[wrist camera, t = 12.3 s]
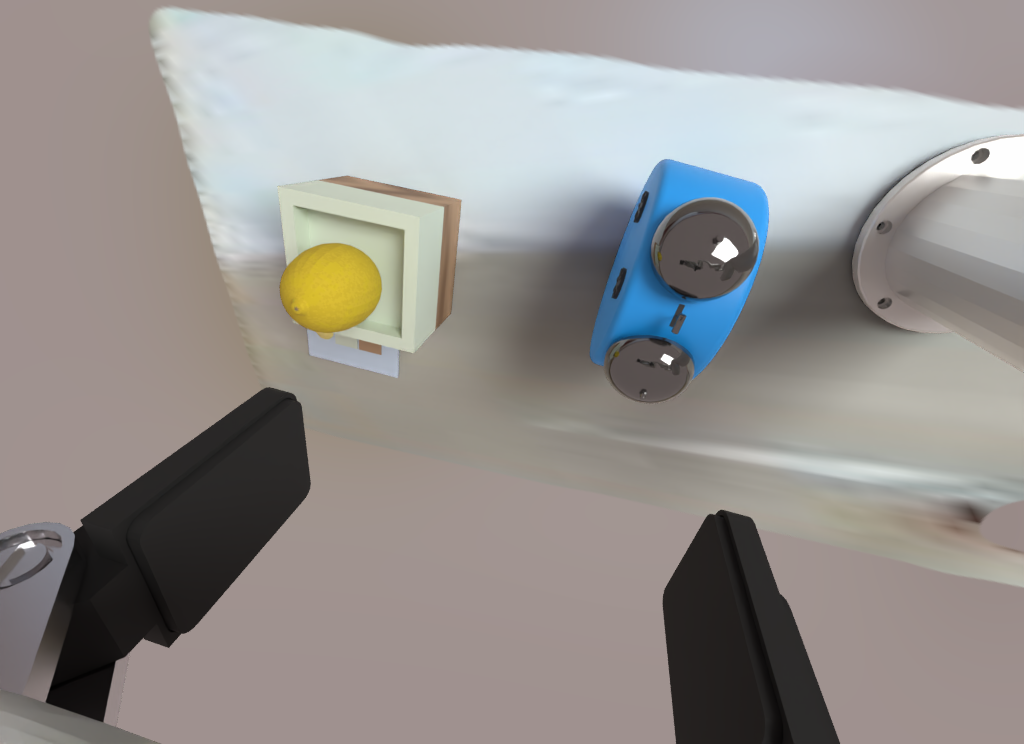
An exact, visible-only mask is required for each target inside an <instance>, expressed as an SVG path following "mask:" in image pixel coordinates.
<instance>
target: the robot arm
mask: <svg viewBox="0 0 1024 744" xmlns="http://www.w3.org/2000/svg"><path fill="white" fill-rule="evenodd" d="M973 154H974V156H973V157H972V155H973ZM971 157H972V158H971ZM880 223H881V226H880V227H879V228H877V226H878V225H879V224H880ZM852 272H853V280H854V284H855V287H856V290H857V293H858V294H859V296H860V297H861V299H862V301H863V302H864V304H865V305H866V306H867V307H868V308H869V309H870V310H872V311H873V312H874V313H875V314H876V315H878V316H879V317H881V318H882V319H884V320H885V321H887V322H888V323H891V324H893V325H895V326H898V327H900V328H902V329H906V330H911V331H916V332H920V333H950V332H955V333H957V334H958V335H960V336H962V337H963V338H965V339H967V340H969V341H970V342H972V343H974V344H975V345H977V346H979V347H981V348H982V349H984V350H986V351H987V352H989V353H991V354H993V355H994V356H996V357H998V358H999V359H1001V360H1003V361H1004V362H1006V363H1008V364H1010V365H1011V366H1013V367H1015V368H1016V369H1018V370H1020V371H1022V372H1023V373H1024V134H1019V135H1000V136H995V137H990V138H985V139H980V140H976V141H973V142H970V143H967V144H964V145H961V146H959V147H956V148H953V149H951V150H949V151H947V152H945V153H943V154H941V155H939V156H937V157H935V158H933V159H931V160H929V161H927V162H926V163H924V164H923V165H921V166H920V167H919V168H917V169H916V170H914V171H913V172H911V173H910V174H908V175H907V176H906V177H905V178H903V179H902V180H901V181H900V182H899V183H898V184H897V185H896V186H894V187H893V188H892V189H891V190H890V191H889V192H888V193H887V194H886V195H885V197H884V198H883V199H882V200H881V201H880V202H879V204H878V205H877V206H876V207H875V208H874V210H873V211H872V213H871V214H870V216H869V218H868V219H867V221H866V222H865V224H864V226H863V227H862V230H861V232H860V235H859V237H858V240H857V242H856V245H855V249H854V255H853V260H852ZM880 300H881V301H880ZM310 484H311V483H310V474H309V466H308V457H307V449H306V440H305V431H304V423H303V414H302V406H301V404H300V402H298V401H297V399H296V396H295V395H294V394H292V393H289V392H285V391H281V390H278V389H274V388H270V387H269V388H265V389H263V390H261V391H260V392H258V393H257V394H255V395H254V396H253V397H251V398H250V399H249V400H247V401H246V402H244V403H243V404H241V405H240V406H239V407H237V408H236V409H235V410H233V411H232V412H230V413H229V414H228V415H226V416H225V417H224V418H222V419H221V420H219V421H218V422H216V423H215V424H214V425H212V426H211V427H210V428H208V429H207V430H205V431H204V432H202V433H201V434H200V435H198V436H197V437H196V438H194V439H193V440H191V441H190V442H189V443H187V444H186V445H184V446H183V447H182V448H180V449H179V450H177V451H176V452H175V453H173V454H172V455H171V456H169V457H168V458H166V459H165V460H163V461H162V462H161V463H159V464H158V465H156V466H155V467H154V468H152V469H151V470H150V471H148V472H147V473H145V474H144V475H143V476H141V477H140V478H139V479H137V480H136V481H134V482H133V483H131V484H130V485H129V486H127V487H126V488H124V489H123V490H122V491H120V492H119V493H117V494H116V495H115V496H113V497H112V498H111V499H109V500H108V501H106V502H105V503H104V504H102V505H101V506H99V507H98V508H97V509H95V510H94V511H93V512H91V513H90V514H88V515H87V516H85V517H84V518H83V519H81V522H82V524H83V526H82V527H80V528H79V529H77V530H76V531H75V532H72V530H71V529H70V528H69V527H67V526H65V525H63V524H60V523H50V522H43V523H34V524H28V525H24V526H21V527H17V528H14V529H10V530H8V531H5V532H3V533H1V534H0V744H160V743H157V742H155V741H152V740H149V739H146V738H144V737H141V736H138V735H136V734H133V733H130V732H128V731H125V730H122V729H119V728H117V727H116V725H117V720H118V714H119V709H120V704H121V699H122V693H123V688H124V683H125V677H126V672H127V666H128V661H129V656H130V651H131V650H132V649H133V648H134V647H135V646H136V645H137V644H138V643H139V642H140V641H141V640H142V639H143V638H144V639H145V640H148V641H151V642H154V643H157V644H160V645H162V646H165V647H168V648H169V647H170V646H171V645H172V643H173V642H174V641H175V640H176V639H177V638H178V637H179V636H180V634H181V633H182V634H184V633H187V632H189V631H190V630H191V629H193V628H194V627H195V626H196V625H197V624H198V623H199V621H200V620H201V619H202V618H203V616H205V614H206V613H207V612H208V611H209V610H210V609H211V607H212V606H213V605H214V604H215V603H216V602H217V600H218V599H219V598H220V597H221V596H222V595H223V593H224V592H225V591H226V590H227V589H228V588H229V587H230V585H231V584H232V583H233V582H234V581H235V579H236V578H237V577H238V576H239V575H240V574H241V573H242V571H243V570H244V569H245V568H246V567H247V566H248V564H249V563H250V562H251V561H252V560H253V559H254V557H255V556H256V555H257V554H258V552H260V550H261V549H262V548H263V547H264V546H265V544H266V543H267V542H268V541H269V540H270V539H271V538H272V536H273V535H274V534H275V533H276V532H277V531H278V529H279V528H280V527H281V526H282V525H283V524H284V522H285V521H286V520H287V519H288V518H289V517H290V515H291V514H292V513H293V512H294V511H295V510H296V508H297V507H298V506H299V505H300V504H301V502H302V501H303V500H304V499H305V498H306V496H307V494H308V492H309V490H310ZM663 613H664V624H665V634H666V644H667V654H668V665H669V674H670V685H671V694H672V705H673V716H674V726H675V736H676V744H840V742H839V739H838V737H837V734H836V731H835V729H834V726H833V723H832V720H831V718H830V715H829V712H828V709H827V707H826V704H825V701H824V698H823V696H822V693H821V691H820V688H819V685H818V682H817V679H816V677H815V674H814V671H813V668H812V666H811V663H810V660H809V658H808V655H807V652H806V649H805V647H804V644H803V641H802V639H801V636H800V633H799V630H798V627H797V625H796V622H795V619H794V617H793V614H792V611H791V609H790V607H789V605H788V603H787V601H786V599H785V598H784V597H783V596H782V595H781V594H780V593H779V591H778V588H777V585H776V582H775V579H774V577H773V574H772V571H771V568H770V566H769V562H768V560H767V557H766V554H765V551H764V549H763V546H762V543H761V540H760V537H759V534H758V531H757V529H756V526H755V523H754V521H753V520H752V519H751V518H750V517H747V516H743V515H740V514H736V513H732V512H729V511H725V510H720V511H718V512H717V513H716V515H713V514H709V515H708V516H707V517H706V519H705V520H704V522H703V524H702V525H701V527H700V529H699V531H698V532H697V534H696V536H695V538H694V539H693V541H692V543H691V544H690V546H689V548H688V550H687V551H686V553H685V555H684V557H683V558H682V560H681V562H680V563H679V565H678V567H677V569H676V570H675V572H674V574H673V576H672V577H671V579H670V581H669V583H668V584H667V586H666V588H665V590H664V594H663Z"/></svg>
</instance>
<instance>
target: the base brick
mask: <svg viewBox="0 0 1024 744" xmlns="http://www.w3.org/2000/svg"><path fill="white" fill-rule="evenodd" d="M320 181H324V182H329V183H334V184H339V185H343V186H348V187H353V188H357V189H362V190H367V191H371V192H376V193H381V194H386V195H390V196H395V197H400V198H404V199H409V200H414V201H419V202H423V203H428V204H433V205H437V206H442V207H444V218H443V231H442V245H441V259H440V272H439V286H438V300H437V313H436V327H435V330H436V329H437V328H438V327H439V326H440V324H441V323H442V322H443V321H444V320H445V319H446V318H447V317H448V316H449V315H450V314H451V308H452V297H453V286H454V275H455V264H456V253H457V242H458V232H459V221H460V210H461V200H460V199H455V198H450V197H446V196H441V195H436V194H431V193H426V192H422V191H417V190H412V189H407V188H403V187H398V186H393V185H388V184H384V183H379V182H374V181H369V180H364V179H360V178H355V177H350V176H343V177H336V178H329V179H323V180H320Z"/></svg>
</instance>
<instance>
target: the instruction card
mask: <svg viewBox="0 0 1024 744" xmlns="http://www.w3.org/2000/svg"><path fill="white" fill-rule="evenodd" d="M307 336H308V346H309V355H311V356H315V357H319V358H322V359H326V360H330V361H334V362H338V363H342V364H346V365H349V366H353V367H357V368H361V369H365V370H369V371H373V372H376V373H380V374H384V375H388V376H392V377H396V378H398V377H399V350H398V349H394V348H391V347H387V346H383V345H379V344H375V343H371V342H367V341H363V340H359V339H355V338H351V337H347V336H343V335H339V334H335V333H321V332H315V331H312V330H309V329H307Z"/></svg>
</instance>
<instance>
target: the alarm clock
mask: <svg viewBox="0 0 1024 744" xmlns="http://www.w3.org/2000/svg"><path fill="white" fill-rule="evenodd" d="M768 222H769V208H768V200H767V196H766V194H765V192H764V190H763V189H762V188H761V187H760V186H759V185H757V184H755V183H753V182H749V181H746V180H742V179H739V178H735V177H731V176H728V175H724V174H721V173H717V172H713V171H710V170H706V169H703V168H699V167H695V166H692V165H688V164H685V163H681V162H677V161H674V160H670V159H665V160H662V161H660V162H659V163H658V164H657V165H656V166H655V168H654V169H653V171H652V173H651V175H650V176H649V178H648V180H647V182H646V184H645V186H644V188H643V190H642V192H641V195H640V197H639V199H638V201H637V204H636V206H635V208H634V211H633V213H632V216H631V218H630V221H629V223H628V226H627V228H626V231H625V233H624V236H623V239H622V241H621V244H620V247H619V250H618V252H617V255H616V258H615V261H614V264H613V267H612V270H611V273H610V276H609V279H608V282H607V285H606V288H605V291H604V294H603V297H602V301H601V304H600V308H599V311H598V315H597V318H596V322H595V326H594V330H593V335H592V340H591V346H590V358H591V360H592V362H594V363H595V364H598V365H601V366H604V372H605V375H606V378H607V380H608V381H609V383H610V385H611V386H612V387H613V388H614V389H615V390H616V391H617V392H618V393H619V394H621V395H622V396H624V397H626V398H628V399H630V400H633V401H636V402H640V403H649V404H654V403H663V402H666V401H669V400H672V399H674V398H676V397H678V396H679V395H680V394H681V393H683V392H684V391H685V390H686V389H687V388H688V386H689V385H690V383H691V382H692V379H694V378H695V377H696V376H697V375H698V374H699V373H701V372H702V371H703V370H704V368H705V367H706V366H707V365H708V364H709V363H710V361H711V360H712V359H713V358H714V356H715V355H716V354H717V352H718V351H719V349H720V348H721V346H722V345H723V343H724V342H725V340H726V338H727V337H728V335H729V333H730V332H731V330H732V328H733V326H734V324H735V322H736V321H737V319H738V317H739V315H740V313H741V311H742V308H743V306H744V304H745V302H746V300H747V297H748V295H749V292H750V290H751V288H752V285H753V282H754V280H755V277H756V274H757V271H758V268H759V265H760V262H761V258H762V255H763V251H764V247H765V242H766V237H767V231H768Z"/></svg>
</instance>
